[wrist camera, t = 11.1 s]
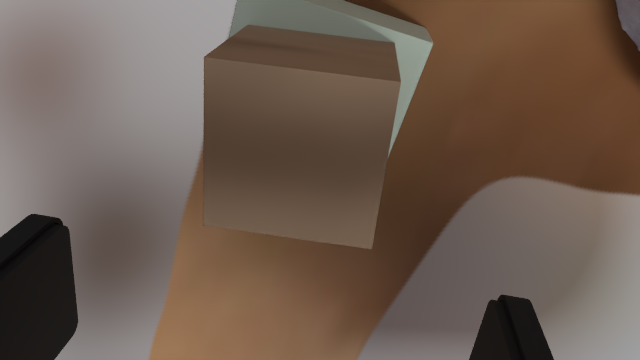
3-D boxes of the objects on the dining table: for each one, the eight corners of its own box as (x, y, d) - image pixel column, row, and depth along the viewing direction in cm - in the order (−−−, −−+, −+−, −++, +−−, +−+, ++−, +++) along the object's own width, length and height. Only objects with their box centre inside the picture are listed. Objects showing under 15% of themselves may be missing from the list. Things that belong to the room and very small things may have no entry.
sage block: (369, 172, 28) (367, 208, 24) (226, 127, 28) (203, 156, 24) (425, 26, 24) (433, 43, 21) (262, -28, 24) (241, -21, 20)
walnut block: (372, 176, 24) (371, 249, 18) (242, 158, 24) (203, 225, 18) (394, 42, 21) (401, 82, 16) (247, 24, 21) (203, 57, 16)
